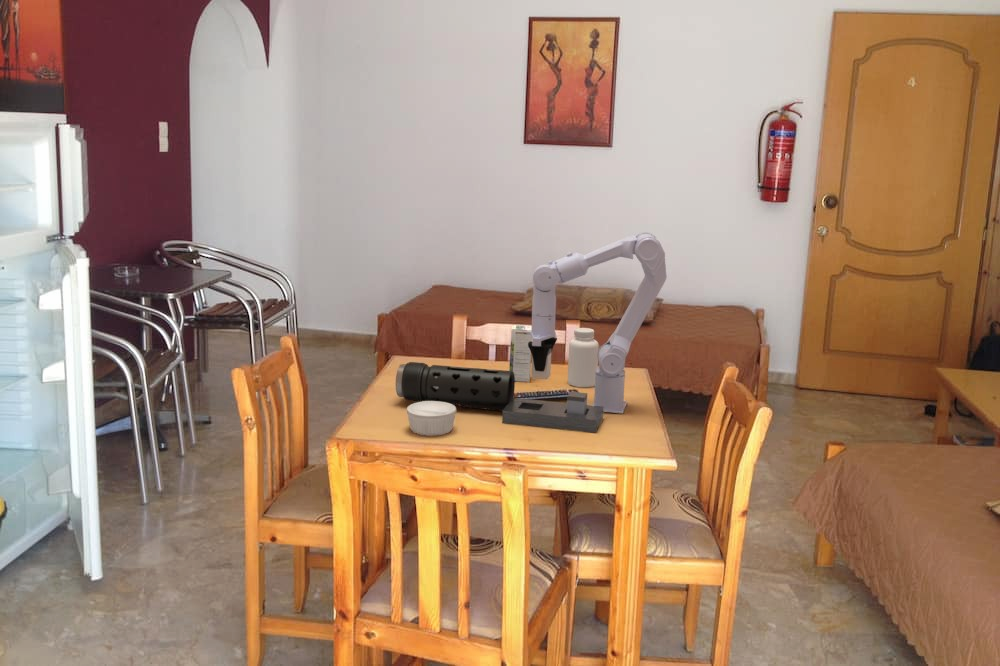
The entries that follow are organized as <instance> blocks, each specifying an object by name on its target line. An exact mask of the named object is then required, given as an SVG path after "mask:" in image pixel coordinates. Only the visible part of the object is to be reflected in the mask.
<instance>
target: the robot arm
mask: <svg viewBox="0 0 1000 666" xmlns="http://www.w3.org/2000/svg"><path fill="white" fill-rule="evenodd" d="M634 255H635V256H636V259H638V261H639V262H640V265H641V268H642V270H643V273H644V277H643V279H642V280H641V282H640V284H639V286H638V288H637V290H636V291H635V294H634V295H633V297H632V299H631V301H630V303H629V304H628V306H627V308H626V310H625V312H624V313H623V315H622V317H621V320H620V321H619V323H618V325H617V326H616V328H615V330H614V332H613V333H612V334H611V335H610V336H609V338H608V340H607V341H606V342H605V343H603V344H602V345H600V346H599V350H598V354H597V357H598V369H596V374H595V386H594V394H593V395H594V398H593V403H592V404H591V406H602V407H604V409H603V413H612V414H614V413H615V414H623V413H624V411H625V408H626V407H627V405H628V401H627V400H626V401H625V400H624V399H625V398H624V397H625V384H626V383H625V382H626V381H625V379H626V370H625V366H626V357H627V355H628V354H629V351H630V348H631V344H632V343H633V341H634V339H635V337H636V335H637V333H638V331H639V329H640V327H641V326H642V325H643V322H644V320H645V319H646V317H647V315H648V314H649V311H650V309H651V308H652V306H653V304H654V303H655V300H656V299H657V296H659V293H660V291H661V290H662V288H663V286H664V284H665V282H666V280H667V267H666V252H665V251H664V248H663V246H662V243H661V242H660V241H659V240H658V239H657V237H656V236H655V235H653V234H652V233H650V232H641V233H639V234H637V235H635V234H634V235H630V236H627V237H624V238H621V239H619V240H616V241H614V242H612V243H609V244H607V245H604V246H602V247H600V248H598V249H596V250H593V251H591V252H589V253H586V254H582V253H579V252H577V251H576V252H574V253H573V252H572V251H570V252H567V253H566V256H564V257H561V258H559V259H556V260H552V259H551V260H548V261H547V262H548V264H541V265H539V266H537V267H536V268H535V270H534V271H533V274H532V281H533V282H532V283H533V284H534V285H533V289H532V293H533V295H532V303H531V304H532V306H531V327H532V330H528V331H527V334H529V335H531V337H532V342H531V341H530V342H529V343H528V347H529V349H530V351H531V358H532V357H533V362H534V367H535V371H544V369H545V365H546V360H547V355H548V352H549V350H550V348H552V349H551V354H552V352H553V349H554V347H555V345H556V342H557V341H558V338H557V336H556V335H557V334H556V312H557V311H556V309H557V296H556V287H557V285H558V284H561V285H562V284H565V283H567V282H570V281H572V280H575V279H578V278H581V277H582V276H585V275H586V274H587V273H588V270H589V268H592V267H594V266H598V265H600V264H603V263H606V262H608V261H611V260H616V259H617V258H625V259H631V260H633V259H634Z"/></svg>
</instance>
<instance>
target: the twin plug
mask: <svg viewBox="0 0 1000 666" xmlns="http://www.w3.org/2000/svg"><path fill="white" fill-rule="evenodd" d="M566 398H567V399H566V403H567V413H569V414H579V415H586V412H587V405H588V393H587V392H579V391H570V392H569V393H568V395H567V397H566Z"/></svg>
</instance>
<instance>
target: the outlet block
mask: <svg viewBox="0 0 1000 666" xmlns="http://www.w3.org/2000/svg"><path fill="white" fill-rule="evenodd" d="M603 409H604V407H602V406H592V404H587V412H586V415H579V414H569V413H567V402H561V401H560V402H559V401H549V400H548V401H547V400H541V399H539V400H538V399H529V398H519V397H514V398H513V399H512V400H511V402H510V403H509V404H508V405H507V406H506V407H505V408H504V409H503V411H502V410H501V411H502V419H501V423H502V424H508V425H509V424H511V425H517V426H526V427H528V426H529V427H537V428H547V429H557V430H565V429H567V430H566V431H574V430H575V431H576V432H583V433H593V434H594V433H595V434H596V433H597V432H598V429H599V428H600V426H601V424H602V421H603V419H604V412H603ZM575 431H574V432H575Z"/></svg>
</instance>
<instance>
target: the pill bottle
mask: <svg viewBox="0 0 1000 666" xmlns="http://www.w3.org/2000/svg"><path fill="white" fill-rule="evenodd" d="M573 332H574V333H573V336H574V338H572V339H571V340H570V341H569V343H568V362H567V363H568V364H567V383H568V385H570V386H572V387H575V388H576V387H577V388H593V387H595V374H596V369H598V368H599V360H598V357H597V354H598V350H599V348H600V344H599V342H598V341H597V340H596V339H595V330H594V329H592V328H589V327H578V328H575V329H574V330H573Z"/></svg>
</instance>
